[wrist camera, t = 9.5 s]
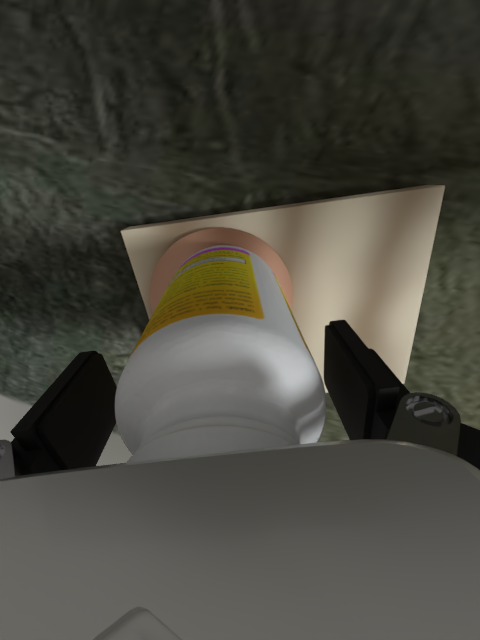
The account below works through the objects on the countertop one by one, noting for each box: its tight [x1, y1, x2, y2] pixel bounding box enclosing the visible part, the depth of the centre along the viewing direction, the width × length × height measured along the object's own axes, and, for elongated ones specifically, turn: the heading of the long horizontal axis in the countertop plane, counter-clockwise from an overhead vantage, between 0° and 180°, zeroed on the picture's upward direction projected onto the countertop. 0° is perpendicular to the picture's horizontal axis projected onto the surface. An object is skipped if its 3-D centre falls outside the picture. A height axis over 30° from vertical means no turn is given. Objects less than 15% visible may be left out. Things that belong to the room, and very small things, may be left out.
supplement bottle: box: [115, 245, 326, 463], centre depth 11 cm, size 7×7×13 cm
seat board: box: [121, 185, 445, 393], centre depth 19 cm, size 18×14×2 cm
